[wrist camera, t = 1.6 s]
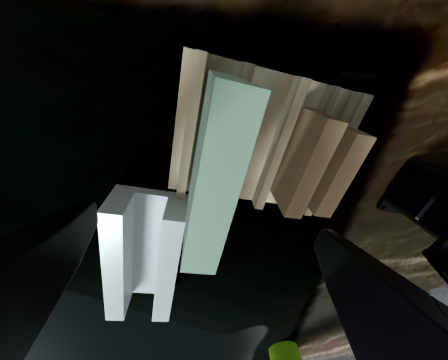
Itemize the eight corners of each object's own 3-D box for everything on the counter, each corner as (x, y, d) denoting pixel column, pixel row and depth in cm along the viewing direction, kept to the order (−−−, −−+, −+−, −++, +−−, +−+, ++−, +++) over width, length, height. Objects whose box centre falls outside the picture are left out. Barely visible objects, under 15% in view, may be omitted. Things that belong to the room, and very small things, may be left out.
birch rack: (360, 93, 18) (381, 97, 16) (306, 202, 24) (316, 216, 22) (184, 47, 16) (181, 45, 14) (169, 183, 21) (165, 197, 19)
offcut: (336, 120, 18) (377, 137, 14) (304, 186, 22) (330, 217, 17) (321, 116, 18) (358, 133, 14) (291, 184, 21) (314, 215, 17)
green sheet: (234, 75, 16) (271, 90, 7) (210, 185, 21) (215, 274, 12) (208, 69, 16) (215, 77, 7) (190, 182, 20) (179, 272, 12)
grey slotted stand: (188, 194, 22) (185, 222, 18) (173, 287, 29) (168, 321, 26) (116, 184, 21) (96, 212, 17) (119, 284, 28) (105, 320, 24)
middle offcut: (313, 108, 18) (349, 123, 13) (281, 187, 21) (300, 219, 17) (297, 104, 17) (328, 118, 13) (267, 185, 21) (284, 217, 17)
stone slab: (403, 309, 36) (465, 282, 33) (395, 298, 38) (453, 271, 34) (438, 332, 44) (492, 313, 40) (430, 323, 45) (481, 303, 42)
